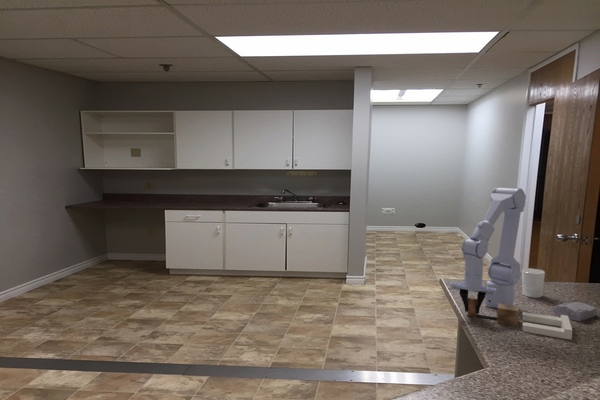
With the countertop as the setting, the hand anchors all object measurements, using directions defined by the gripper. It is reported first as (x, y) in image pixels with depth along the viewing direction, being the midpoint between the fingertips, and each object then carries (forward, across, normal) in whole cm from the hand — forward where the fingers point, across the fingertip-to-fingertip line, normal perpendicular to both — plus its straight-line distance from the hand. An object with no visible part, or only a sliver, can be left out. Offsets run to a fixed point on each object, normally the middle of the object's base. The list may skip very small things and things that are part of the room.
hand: (472, 311), depth 140 cm
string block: (+1, +6, 0) cm, 6 cm away
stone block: (+2, +31, +18) cm, 36 cm away
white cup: (+2, +19, +35) cm, 40 cm away
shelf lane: (+1, +21, 0) cm, 21 cm away
